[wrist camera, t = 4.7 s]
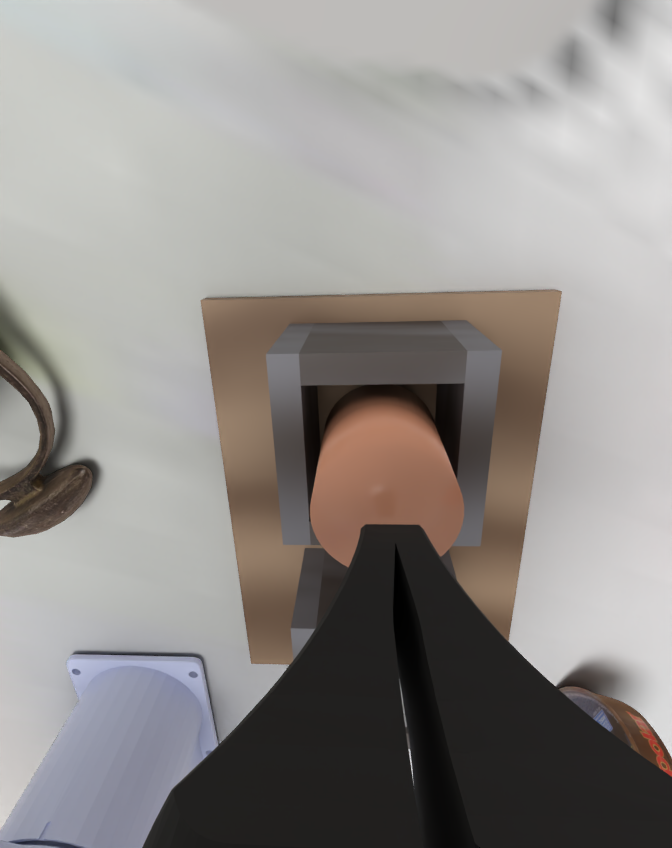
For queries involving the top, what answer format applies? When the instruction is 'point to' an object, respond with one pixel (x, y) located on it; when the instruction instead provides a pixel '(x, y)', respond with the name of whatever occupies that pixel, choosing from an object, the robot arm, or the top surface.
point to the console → (338, 375)
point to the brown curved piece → (28, 490)
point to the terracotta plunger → (383, 472)
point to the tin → (623, 725)
